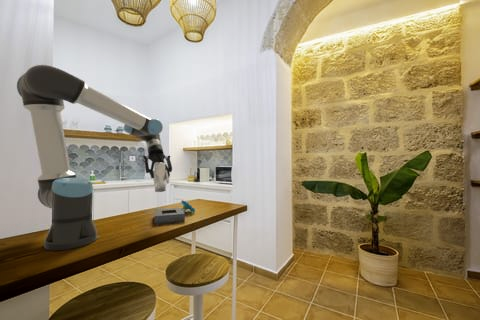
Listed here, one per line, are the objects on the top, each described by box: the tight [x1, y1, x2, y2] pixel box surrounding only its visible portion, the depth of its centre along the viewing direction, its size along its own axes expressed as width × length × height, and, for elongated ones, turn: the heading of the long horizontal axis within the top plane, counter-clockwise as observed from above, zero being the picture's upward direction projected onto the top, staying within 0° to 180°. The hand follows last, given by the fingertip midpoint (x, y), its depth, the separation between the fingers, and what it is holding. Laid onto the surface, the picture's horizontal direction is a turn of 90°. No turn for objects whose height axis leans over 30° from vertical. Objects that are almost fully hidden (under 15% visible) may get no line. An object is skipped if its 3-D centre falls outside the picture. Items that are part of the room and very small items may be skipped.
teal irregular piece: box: [180, 200, 196, 213], centre depth 121 cm, size 11×6×10 cm
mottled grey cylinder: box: [154, 162, 167, 193], centre depth 101 cm, size 5×5×14 cm
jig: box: [154, 207, 186, 225], centre depth 107 cm, size 14×14×4 cm
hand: (161, 182), depth 98 cm, fingers closed on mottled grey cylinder, 5 cm apart
